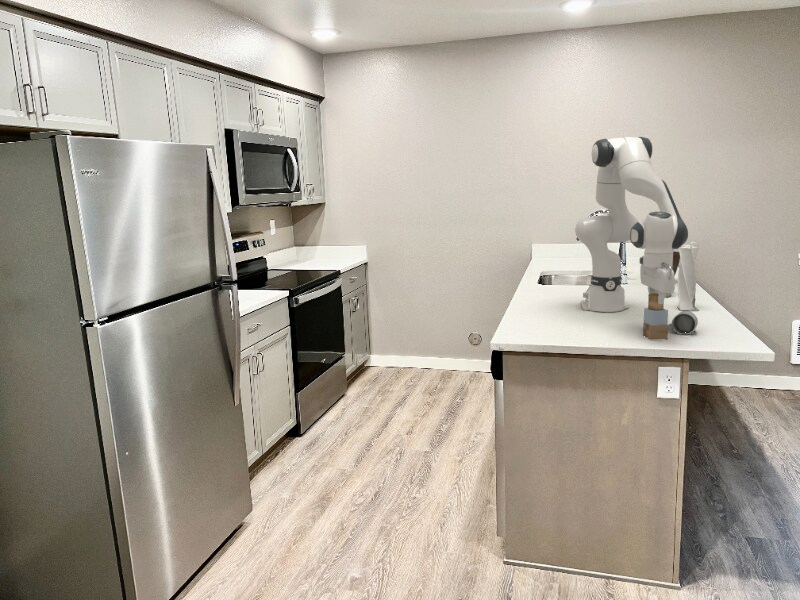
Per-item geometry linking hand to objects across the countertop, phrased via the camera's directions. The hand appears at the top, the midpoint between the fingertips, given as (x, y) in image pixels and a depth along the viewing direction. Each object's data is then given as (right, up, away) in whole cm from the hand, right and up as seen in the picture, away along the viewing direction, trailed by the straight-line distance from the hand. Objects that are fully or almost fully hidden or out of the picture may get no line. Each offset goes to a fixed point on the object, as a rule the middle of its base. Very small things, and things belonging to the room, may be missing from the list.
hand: (656, 301), depth 202 cm
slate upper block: (0, -7, +1) cm, 8 cm away
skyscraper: (+31, -4, +43) cm, 53 cm away
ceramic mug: (+12, -11, +8) cm, 18 cm away
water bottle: (+33, +2, +72) cm, 79 cm away
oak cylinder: (0, -2, +1) cm, 3 cm away
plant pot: (+48, +9, +104) cm, 115 cm away
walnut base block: (+1, -12, +2) cm, 13 cm away
